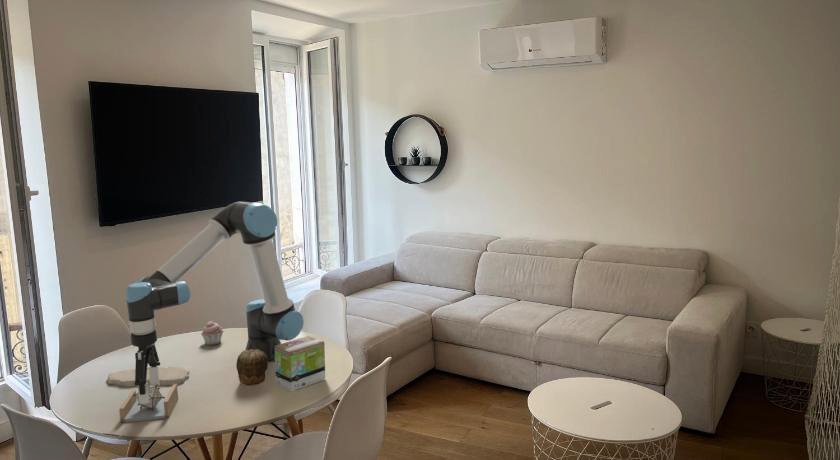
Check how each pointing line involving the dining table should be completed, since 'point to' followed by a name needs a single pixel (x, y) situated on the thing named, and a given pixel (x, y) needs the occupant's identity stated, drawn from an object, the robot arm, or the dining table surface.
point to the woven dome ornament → (252, 367)
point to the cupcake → (212, 333)
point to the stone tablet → (165, 376)
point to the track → (160, 410)
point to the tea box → (299, 363)
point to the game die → (151, 397)
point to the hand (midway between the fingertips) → (150, 394)
